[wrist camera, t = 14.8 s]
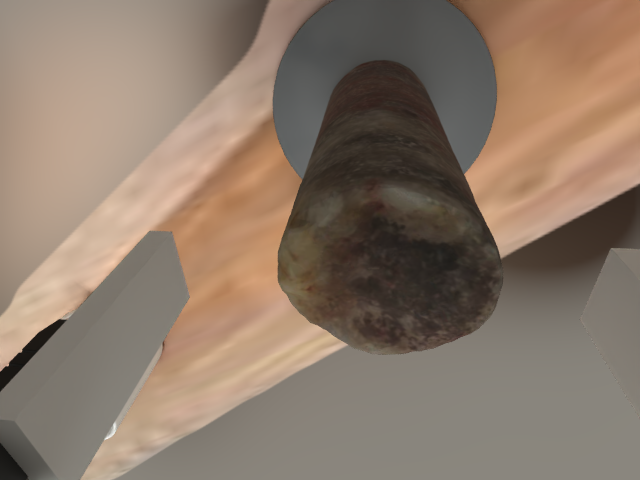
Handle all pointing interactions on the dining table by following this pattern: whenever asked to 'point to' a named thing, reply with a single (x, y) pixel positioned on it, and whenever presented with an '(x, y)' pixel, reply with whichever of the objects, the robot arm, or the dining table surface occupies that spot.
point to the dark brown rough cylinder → (387, 223)
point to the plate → (395, 45)
